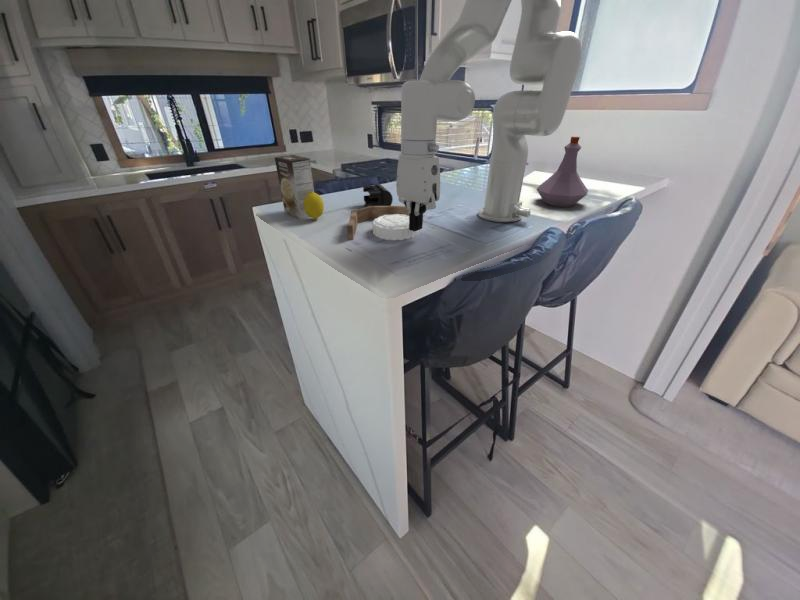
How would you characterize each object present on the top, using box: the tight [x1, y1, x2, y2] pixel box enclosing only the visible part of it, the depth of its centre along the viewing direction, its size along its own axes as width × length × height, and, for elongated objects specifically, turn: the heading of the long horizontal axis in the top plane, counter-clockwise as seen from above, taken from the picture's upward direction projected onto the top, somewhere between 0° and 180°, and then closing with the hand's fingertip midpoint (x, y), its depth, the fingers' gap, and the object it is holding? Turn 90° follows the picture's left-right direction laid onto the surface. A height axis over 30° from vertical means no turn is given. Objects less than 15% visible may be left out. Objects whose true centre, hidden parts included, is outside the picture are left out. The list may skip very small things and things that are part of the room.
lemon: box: [304, 191, 325, 220], centre depth 93 cm, size 6×6×8 cm
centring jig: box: [347, 205, 409, 240], centre depth 91 cm, size 10×24×4 cm, turn 136°
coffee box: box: [274, 154, 315, 220], centre depth 96 cm, size 9×6×16 cm
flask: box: [536, 136, 589, 208], centre depth 105 cm, size 16×16×20 cm
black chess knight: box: [362, 182, 394, 207], centre depth 104 cm, size 10×7×7 cm
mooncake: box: [372, 214, 419, 241], centre depth 86 cm, size 12×12×4 cm
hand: (415, 229), depth 81 cm, fingers closed
